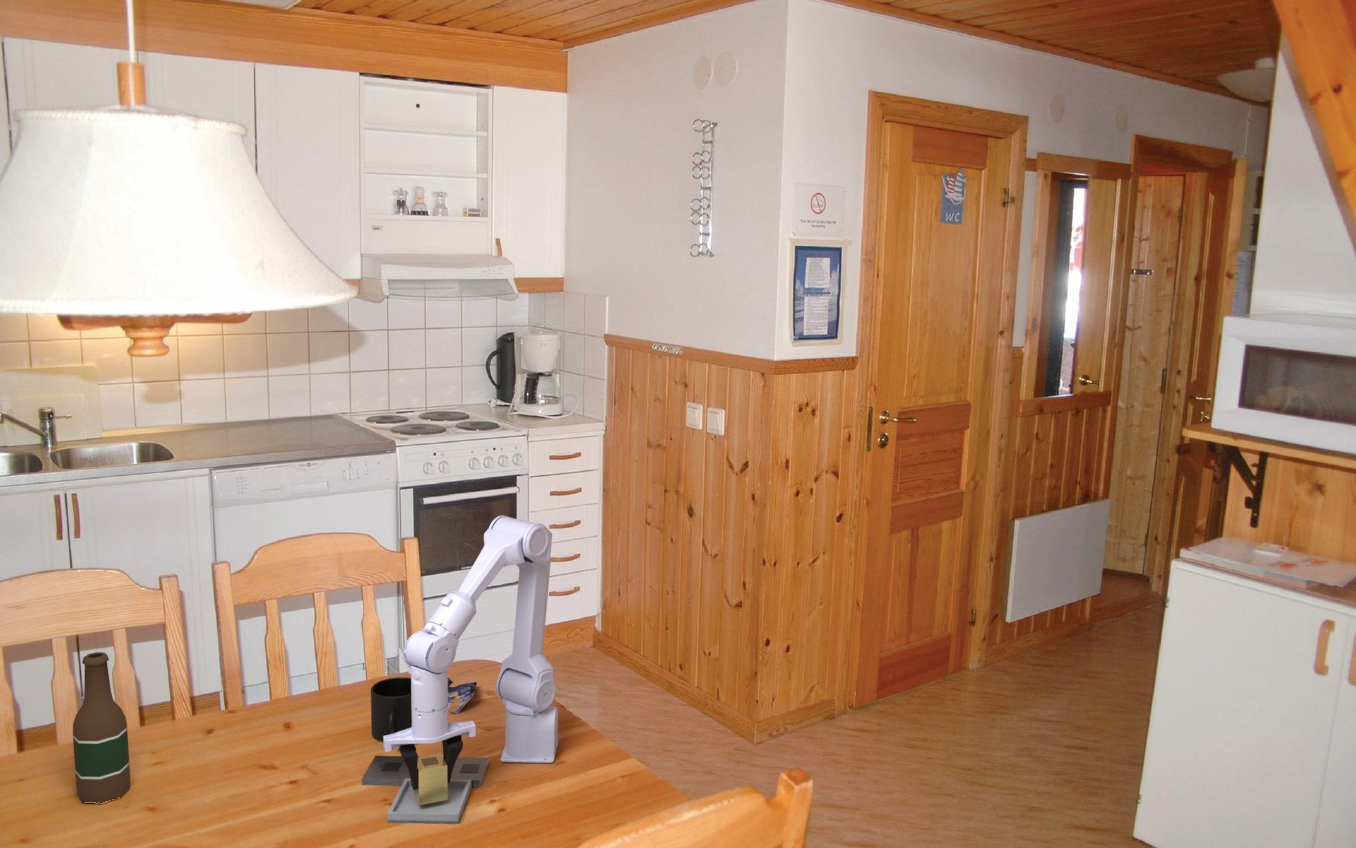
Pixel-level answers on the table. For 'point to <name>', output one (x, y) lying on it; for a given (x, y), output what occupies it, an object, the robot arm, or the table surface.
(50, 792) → the table surface
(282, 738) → the table surface
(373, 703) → the mug
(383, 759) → the metal plate with cutout
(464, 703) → the snack package
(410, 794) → the parts tray
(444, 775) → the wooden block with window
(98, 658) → the beer bottle
